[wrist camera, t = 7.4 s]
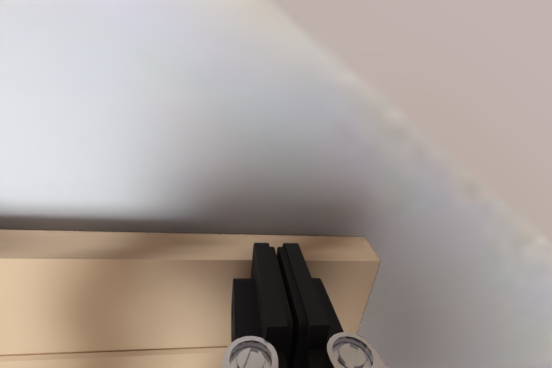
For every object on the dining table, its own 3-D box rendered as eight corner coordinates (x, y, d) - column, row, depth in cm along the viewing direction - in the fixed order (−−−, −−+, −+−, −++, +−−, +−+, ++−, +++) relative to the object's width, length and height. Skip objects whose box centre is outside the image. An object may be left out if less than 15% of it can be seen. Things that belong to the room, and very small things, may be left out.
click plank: (364, 237, 13) (381, 262, 12) (325, 374, 17) (334, 406, 16) (-201, 225, 10) (-275, 258, 9) (-89, 398, 14) (-127, 440, 13)
